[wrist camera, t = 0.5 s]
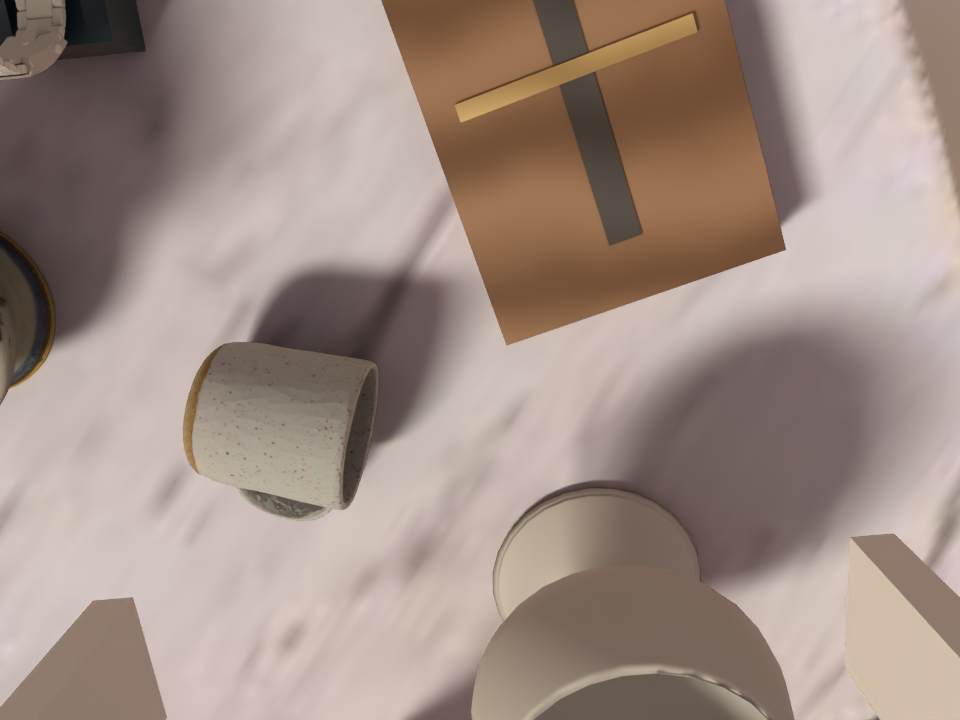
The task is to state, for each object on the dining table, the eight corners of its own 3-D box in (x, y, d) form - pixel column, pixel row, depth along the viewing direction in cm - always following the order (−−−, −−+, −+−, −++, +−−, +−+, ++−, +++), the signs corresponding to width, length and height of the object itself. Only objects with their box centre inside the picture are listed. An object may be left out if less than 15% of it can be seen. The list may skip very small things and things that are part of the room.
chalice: (756, 609, 43) (888, 839, 29) (557, 712, 45) (586, 973, 31) (638, 425, 40) (719, 579, 26) (431, 547, 42) (398, 751, 28)
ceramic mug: (234, 320, 39) (172, 363, 31) (385, 343, 39) (358, 391, 32) (225, 496, 42) (167, 572, 35) (365, 516, 42) (337, 596, 35)
